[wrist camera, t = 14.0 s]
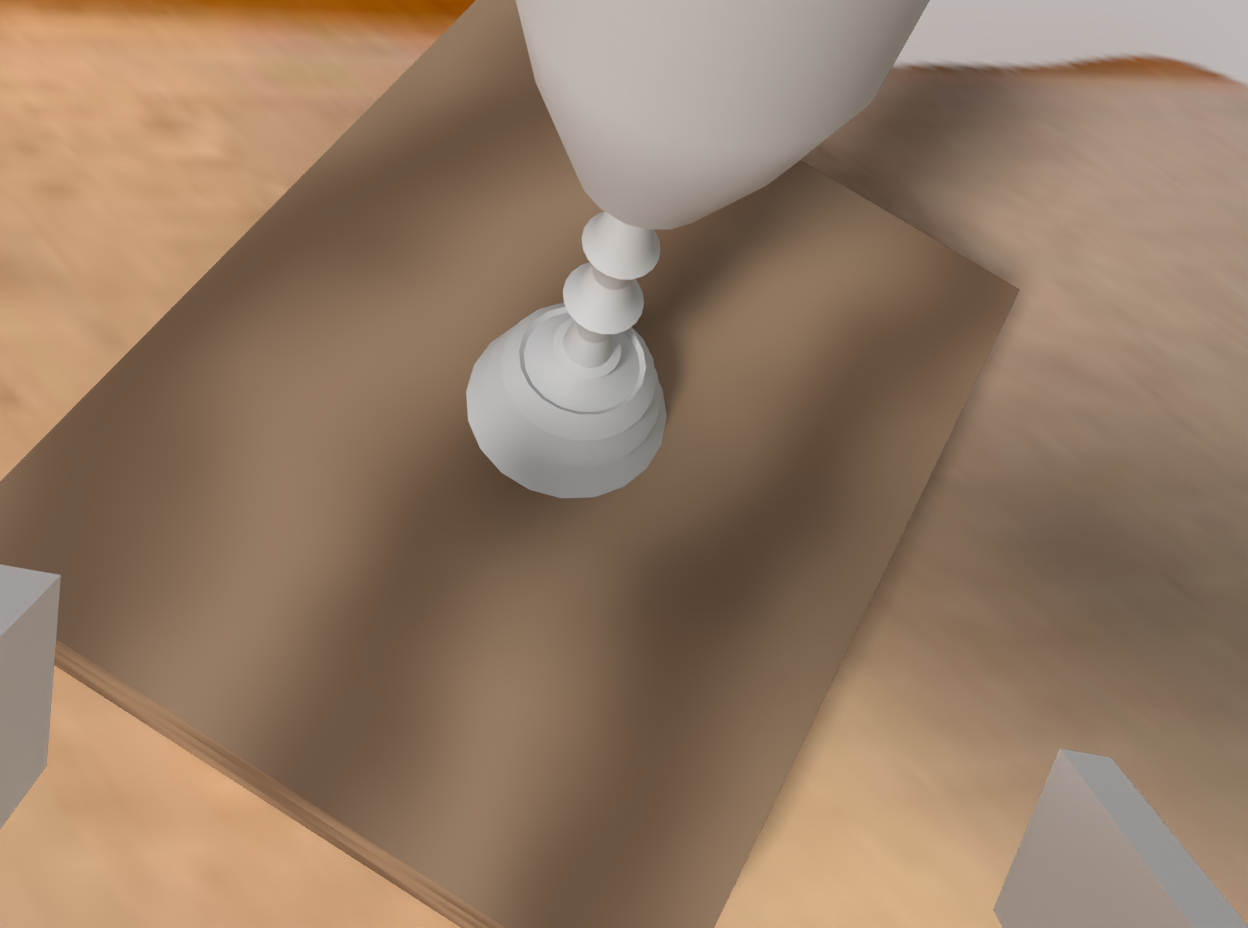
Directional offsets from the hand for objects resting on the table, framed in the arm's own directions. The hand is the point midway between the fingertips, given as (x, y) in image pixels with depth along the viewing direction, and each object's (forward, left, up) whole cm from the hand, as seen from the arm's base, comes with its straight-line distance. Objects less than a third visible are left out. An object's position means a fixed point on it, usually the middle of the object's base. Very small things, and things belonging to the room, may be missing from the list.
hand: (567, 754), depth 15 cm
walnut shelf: (+4, -10, -16) cm, 19 cm away
